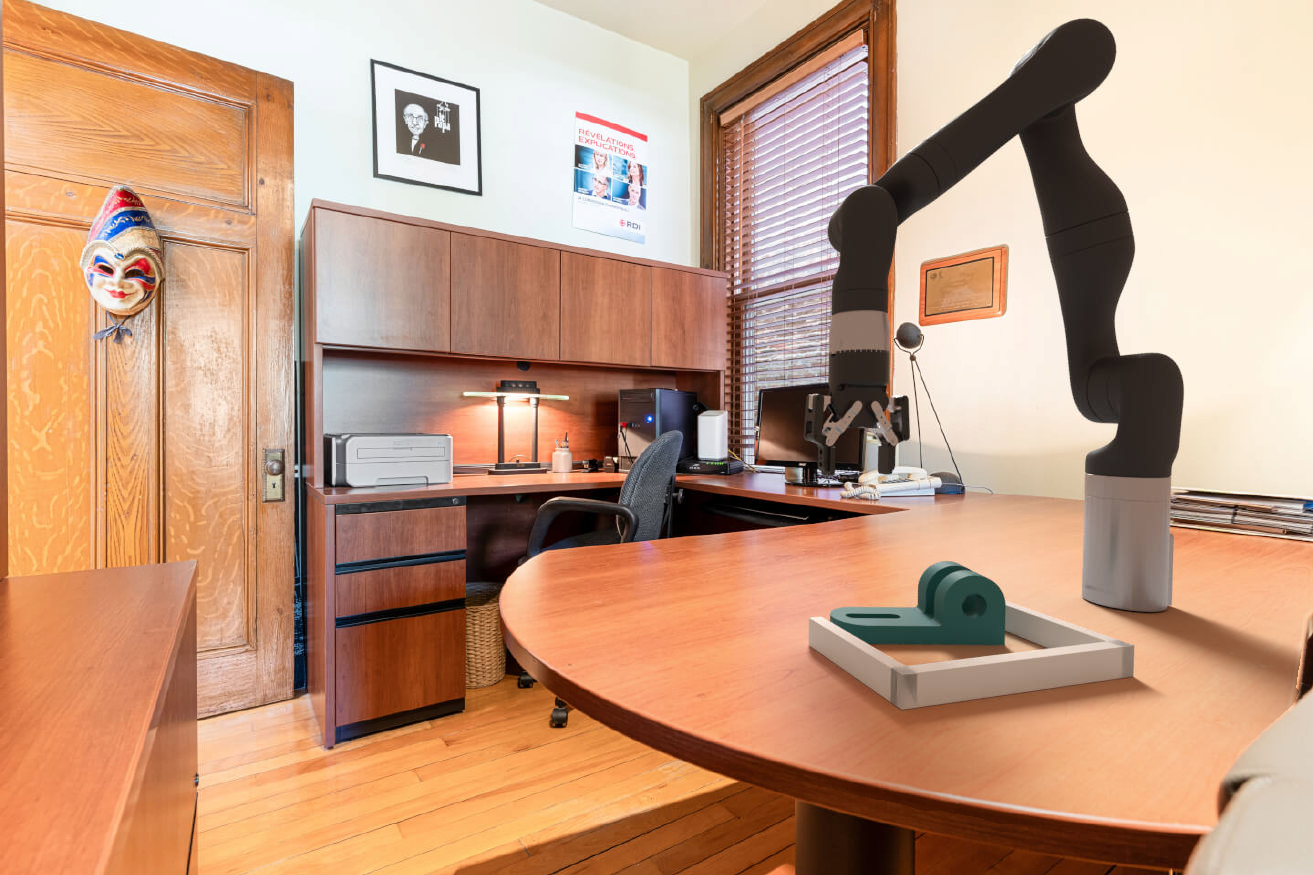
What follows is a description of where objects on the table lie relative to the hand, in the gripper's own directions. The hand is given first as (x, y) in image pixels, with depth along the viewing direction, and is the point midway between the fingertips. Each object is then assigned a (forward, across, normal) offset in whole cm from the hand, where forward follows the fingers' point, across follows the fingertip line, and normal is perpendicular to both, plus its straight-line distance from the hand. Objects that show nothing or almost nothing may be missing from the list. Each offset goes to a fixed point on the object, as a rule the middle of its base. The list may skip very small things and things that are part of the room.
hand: (856, 474), depth 81 cm
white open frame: (+17, 0, +19) cm, 25 cm away
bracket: (+18, 0, +11) cm, 21 cm away
